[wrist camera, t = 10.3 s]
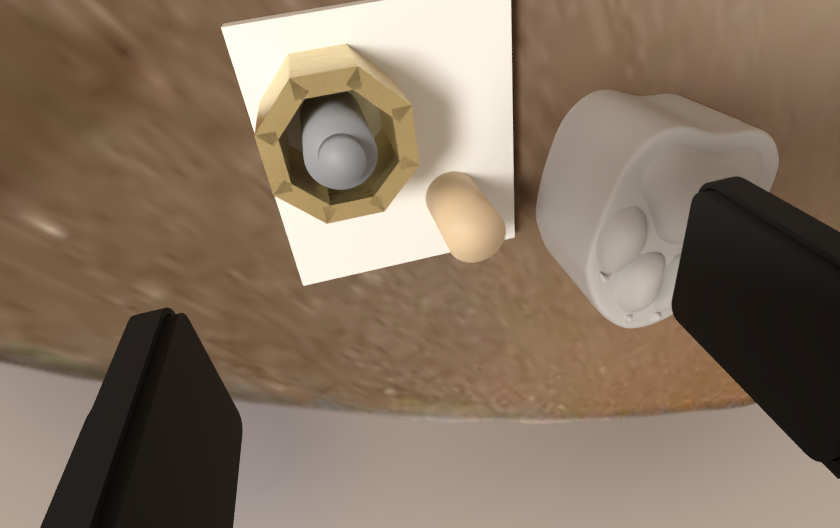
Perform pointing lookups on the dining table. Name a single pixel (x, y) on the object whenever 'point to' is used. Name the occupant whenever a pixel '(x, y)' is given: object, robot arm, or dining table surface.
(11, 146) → the dining table surface
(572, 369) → the dining table surface
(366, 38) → the post board
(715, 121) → the lumpy-topped squat cylinder
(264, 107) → the brass collar
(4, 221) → the dining table surface
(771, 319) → the robot arm
